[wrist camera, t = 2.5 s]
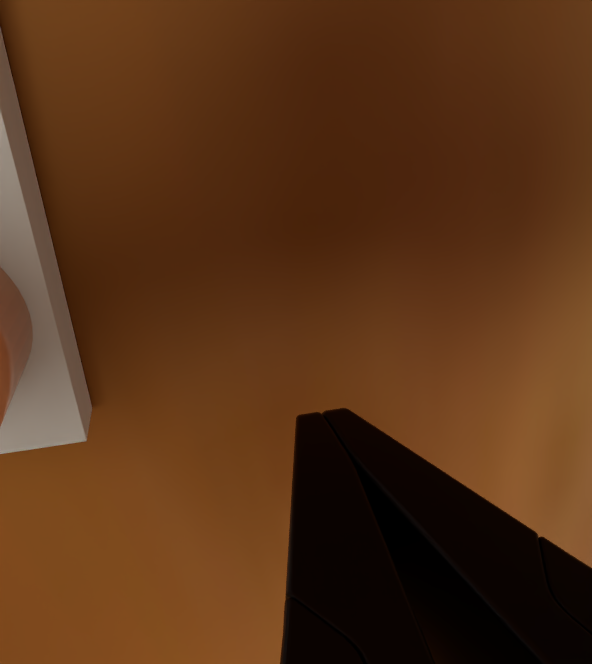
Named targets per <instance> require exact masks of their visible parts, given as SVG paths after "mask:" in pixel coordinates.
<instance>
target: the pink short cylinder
mask: <svg viewBox="0 0 592 664" xmlns="http://www.w3.org/2000/svg"><path fill="white" fill-rule="evenodd" d="M32 342H33V329H32V322H31V317H30V313H29V311H28V308H27V305H26V302H25V300H24V298H23V297H22V295H21V293H20V291H19V289H18V288H17V286H16V285H15V284H14V282H13V281H12V280H11V278H10V277H9V276H8V275H7V274H6V273H5V271H4V270H3V269H2V268H1V267H0V426H1V424H2V422H3V419H4V417H5V415H6V412H7V410H8V407H9V405H10V403H11V400H12V398H13V396H14V393H15V391H16V388H17V386H18V384H19V381H20V379H21V376H22V374H23V372H24V369H25V367H26V365H27V362H28V359H29V356H30V353H31V349H32Z"/></svg>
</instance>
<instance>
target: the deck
mask: <svg viewBox="0 0 592 664" xmlns="http://www.w3.org/2000/svg"><path fill="white" fill-rule="evenodd" d="M0 267H1V268H2V269H3V270H4V271H5V273H6V274H7V275H8V276H9V277H10V278H11V280H12V281H13V282H14V284H15V285H16V286H17V288H18V289H19V291H20V293H21V295H22V297H23V298H24V300H25V302H26V305H27V308H28V311H29V313H30V317H31V322H32V329H33V342H32V349H31V353H30V356H29V359H28V362H27V365H26V367H25V369H24V372H23V374H22V376H21V379H20V381H19V384H18V386H17V388H16V391H15V393H14V396H13V398H12V400H11V403H10V405H9V407H8V410H7V412H6V415H5V417H4V419H3V422H2V424H1V426H0V454H4V453H11V452H17V451H24V450H30V449H37V448H44V447H50V446H57V445H64V444H70V443H77V442H83V441H87V435H88V430H89V424H90V418H91V413H92V405H91V401H90V396H89V392H88V388H87V384H86V380H85V376H84V372H83V367H82V363H81V359H80V355H79V351H78V347H77V343H76V338H75V334H74V330H73V326H72V322H71V318H70V314H69V309H68V305H67V301H66V297H65V293H64V289H63V285H62V280H61V276H60V272H59V268H58V264H57V260H56V256H55V251H54V247H53V243H52V239H51V235H50V231H49V227H48V222H47V218H46V214H45V210H44V206H43V202H42V198H41V193H40V189H39V185H38V181H37V177H36V173H35V169H34V164H33V160H32V156H31V152H30V148H29V144H28V140H27V135H26V131H25V127H24V123H23V119H22V115H21V111H20V106H19V102H18V98H17V94H16V90H15V86H14V82H13V77H12V73H11V69H10V65H9V61H8V57H7V53H6V48H5V44H4V40H3V36H2V32H1V28H0Z"/></svg>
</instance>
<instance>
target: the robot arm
mask: <svg viewBox="0 0 592 664" xmlns="http://www.w3.org/2000/svg"><path fill="white" fill-rule="evenodd" d="M280 664H592V568H591V567H589V566H588V565H586V564H585V563H583V562H581V561H580V560H578V559H577V558H575V557H573V556H572V555H570V554H569V553H567V552H566V551H564V550H563V549H561V548H560V547H558V546H557V545H555V544H553V543H552V542H550V541H549V540H547V539H546V538H544V537H539V538H538V534H537V533H536V532H535V531H533V530H532V529H530V528H529V527H527V526H526V525H524V524H523V523H521V522H520V521H518V520H517V519H515V518H513V517H512V516H510V515H509V514H507V513H506V512H504V511H503V510H501V509H500V508H498V507H497V506H495V505H494V504H492V503H491V502H489V501H488V500H486V499H484V498H483V497H481V496H480V495H478V494H477V493H475V492H474V491H472V490H471V489H469V488H468V487H466V486H465V485H463V484H462V483H460V482H459V481H457V480H456V479H454V478H452V477H451V476H449V475H448V474H446V473H445V472H443V471H442V470H440V469H439V468H437V467H436V466H434V465H433V464H431V463H430V462H428V461H427V460H425V459H423V458H422V457H420V456H419V455H417V454H416V453H414V452H413V451H411V450H410V449H408V448H407V447H405V446H404V445H402V444H401V443H399V442H398V441H396V440H395V439H393V438H391V437H390V436H388V435H387V434H385V433H384V432H382V431H381V430H379V429H378V428H376V427H375V426H373V425H372V424H370V423H369V422H367V421H366V420H364V419H362V418H361V417H359V416H358V415H356V414H355V413H353V412H352V411H350V410H349V409H346V408H340V409H334V410H327V411H324V412H323V413H322V414H321V413H319V412H314V413H308V414H301V415H298V416H297V418H296V429H295V446H294V463H293V480H292V496H291V513H290V530H289V547H288V564H287V581H286V601H285V609H284V625H283V638H282V649H281V659H280Z"/></svg>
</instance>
